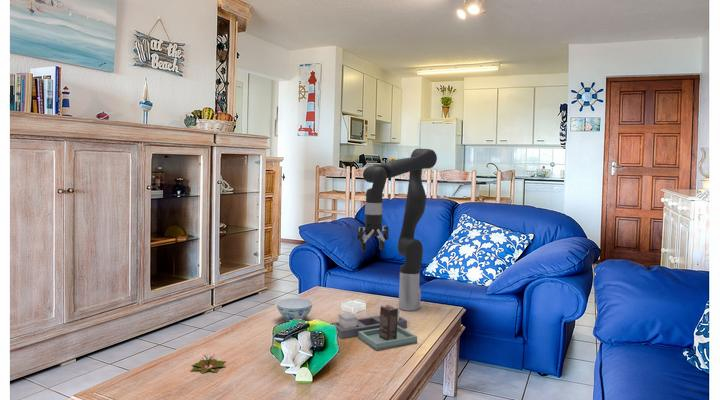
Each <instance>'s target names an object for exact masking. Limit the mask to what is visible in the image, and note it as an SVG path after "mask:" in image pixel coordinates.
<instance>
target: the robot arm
mask: <svg viewBox="0 0 720 400" xmlns="http://www.w3.org/2000/svg"><path fill="white" fill-rule="evenodd" d="M437 160H438V157H437V153H436V151H434V150H433V149H431V148H415V149H414V150H413V151H412V152H411V154H410V157H405V158H397V159H393V160H391V161H390V160H389V161H388V162H384V163H380V164H373V165H369V166H367V167H366V168H365V169H364V170H363V173H362V177H363V179H364V181H366V182H367V183H371V184H372V185H371V187H370V188H368V189H366V191H365V192H366V193H365V204H364V205H365V207H364V226H363V227H362V226H358V227H357V238H356V241H358V242H360V245H361V246H360V249H361V250H362V252H366V251H367V241H368V240H369V239H370V238H373V237H376V238H378V240H379V244H378V246H379V248H378V249H379V250H380V251H384V249H385V241H388V240H389V226H387V225H383V212H384V211H383V192H384V189H385V186H386V183H387V179H392V178H395V177H397V176H401V175H404V174H407V173H408V174H409V175H408V176H409V178H408V184H407V185H408V186H407V193H406V199H405V205H404V213H403V218H402V219H403V220H402V226H401V229H400V233H399V234H400V235H399V236H398V237H399V238H398V241H397V252H398V254H399V255H401V256H402V257H405V263H404V264H401V265H400V267H399V284H398V285H399V287H398V289H399V290H398V293H399V294H398V309H399V310H403V311H408V312H413V311H417V310H420V309H421V298H422V297H421V296H422V295H421V294H422V290H421V287H420V272H421V268H422V263H423V256H424V255H423V254H424V249H423V248H424V247H423V244H422V241H420V240H419V239H417V238H415V231H416V228H417V225H418V224H419V222H420V220H422V216H423V215H424V213H425V211H426V203H427V194H426V191H425V188H424V185H423V182H422V181H423V180H422V173H423V170H425V169H426V170H428V169H432V168H434V166H435V165H436V163H437ZM382 225H383V226H382ZM363 233H364V234H363Z"/></svg>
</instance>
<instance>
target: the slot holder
mask: <svg viewBox="0 0 720 400" xmlns="http://www.w3.org/2000/svg"><path fill="white" fill-rule="evenodd" d="M331 324H332V325H335V326H336V327H337V331H338V336H337V337H338V338H340V339H342V340H343V339H348V338H354V337H358V332H359V331H365V330H371V329H377V328H380V315H376V316H369V317H362V318H357V327H355V328H348V329H342V328H341V327H340V326H339V321H334V322H330V325H331ZM397 325H398V326H400V327H401V328H403V329H405V328H406V329H407V328H408V320H407V319H405V318H403V317H401V316H399V321H397Z"/></svg>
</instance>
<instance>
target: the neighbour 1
mask: <svg viewBox="0 0 720 400" xmlns="http://www.w3.org/2000/svg"><path fill="white" fill-rule="evenodd" d="M357 319H358V316H357V315H354V314H353V313H352V312H344V313H338V322H339V326H340V327H341V328H342V329H348V328H355V327H357Z"/></svg>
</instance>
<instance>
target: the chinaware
mask: <svg viewBox="0 0 720 400" xmlns="http://www.w3.org/2000/svg"><path fill="white" fill-rule="evenodd" d="M276 305H277V306H276V307H277V310H278V313H279V314H280V316H282V318H283V319H285V320H286V322H287V321H290V320H293V319H303V320H304V319H305V318H306V317H308V315H309V314H310V312H311V311H312V308H313V305H314V303H313V301H312V300H311V299H308V298H304V297H303V298H302V297H290V298H284V299H280V300H278V301H277V302H276Z"/></svg>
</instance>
